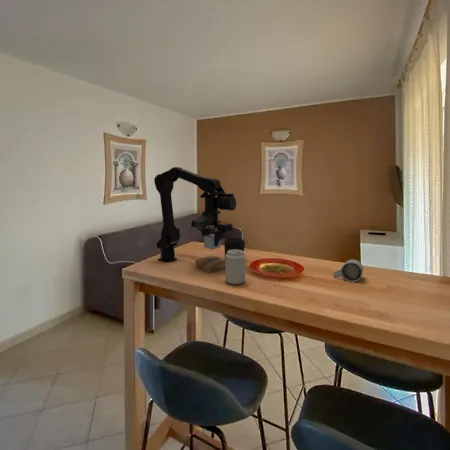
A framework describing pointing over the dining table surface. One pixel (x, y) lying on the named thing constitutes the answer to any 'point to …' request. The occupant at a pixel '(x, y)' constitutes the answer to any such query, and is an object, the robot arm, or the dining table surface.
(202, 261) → the walnut block
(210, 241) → the cube
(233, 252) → the can
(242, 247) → the pen holder
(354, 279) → the ceramic mug
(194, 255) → the dining table surface
